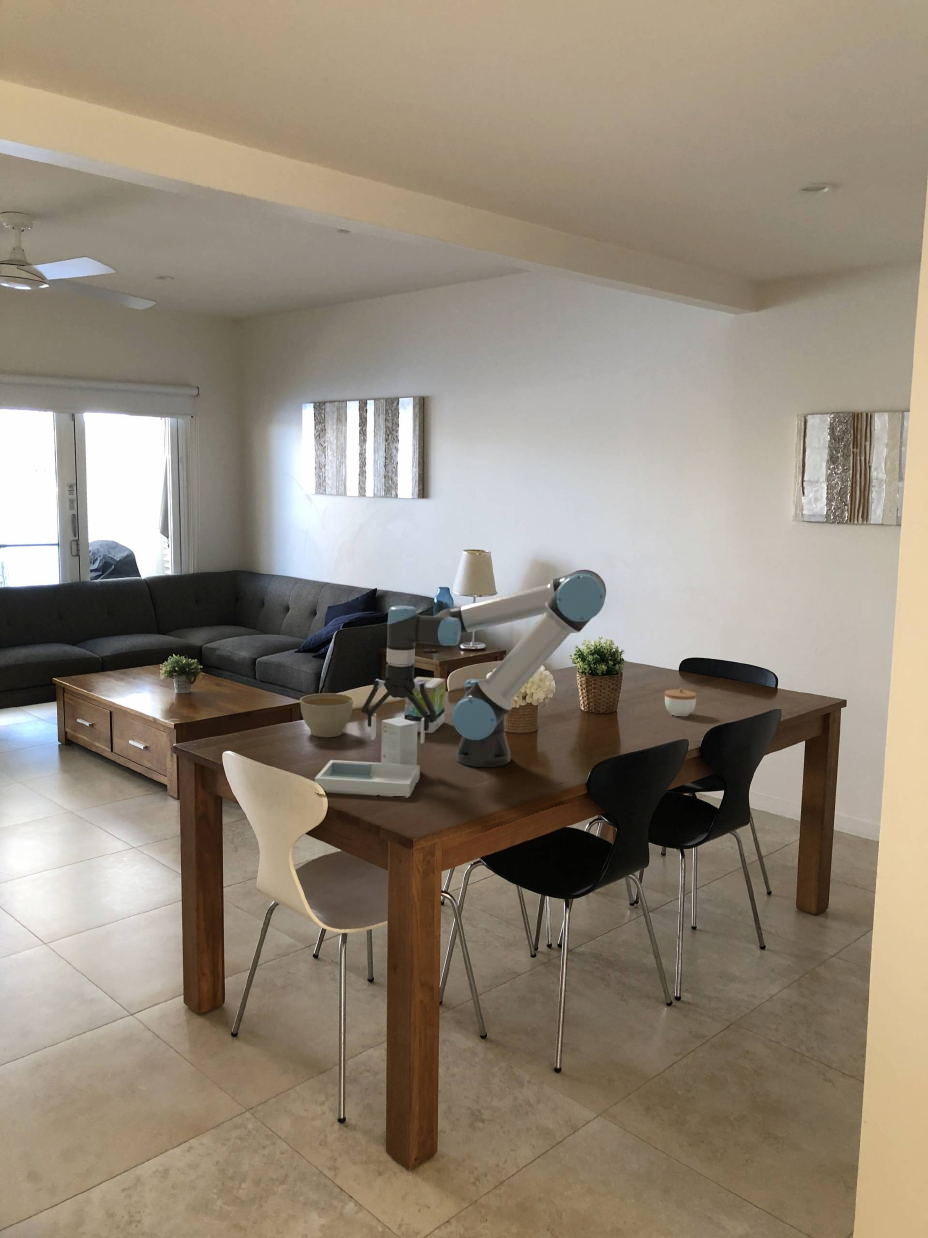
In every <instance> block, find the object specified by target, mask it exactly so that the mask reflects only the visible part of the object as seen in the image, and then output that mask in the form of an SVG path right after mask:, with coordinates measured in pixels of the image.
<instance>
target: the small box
mask: <svg viewBox="0 0 928 1238" xmlns="http://www.w3.org/2000/svg"><path fill="white" fill-rule="evenodd" d="M380 752H381V753H380V754H381V756H380V757H381V758H380V760H381V762H380V763H390V764H407V765H418V732H417V723H416V722H413V721H409V720H406V719H404V718H402V717H393V718H388V719H383V720H381V750H380Z"/></svg>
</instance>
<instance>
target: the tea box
mask: <svg viewBox="0 0 928 1238" xmlns="http://www.w3.org/2000/svg"><path fill="white" fill-rule="evenodd" d="M414 682H415V683H421V682H425V685H426V691H427V693H428V696H429V698H430V700H431V702H432V704H433V707H434V709H435V711H436V716H435V717H434V718H430V719H429V729H428V731H425V734H426V733H428V734H433V733H434V732H435V731H436V730H437V729H438V728H440V726H441V725H443V724H444V722H445V713H446V712H445V710H446V707H445V706H446V687H447V685H446V682H447V680H446V678H439V677H427V676H425V677H424V676H416V677H414ZM412 692H413V693H414V694H415V696H416V698H417V699H418V700H419V701H420V703H421V704H422V705H423V707H424V708H425V709H426V711H427V712H428V713H429V711H428V709H427V707H426V705H425V702H424V700H423V698H422V696H421V693H420V691H418V689H417V688H416V687H415V688H414V689H413V690H412ZM403 717H404V718H403V719H406V720H409V721H413V722H416V723H417V733H421V719H422V718H423V716H422V715H421V714H420V712H419V711H418V710H417V709H416V707H415V706H414V705H413V703H412V702H411V701H410V700H409V699H408V698H407V697H406V698H404V716H403Z"/></svg>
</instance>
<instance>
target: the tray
mask: <svg viewBox="0 0 928 1238" xmlns="http://www.w3.org/2000/svg"><path fill="white" fill-rule="evenodd" d="M420 768H421V766H420V765H419V764H417V765H407V764H390V763H381V762H371V761H370V762H369V761H357V760H356V761H354V760H352V761H351V760H340V759H339V760H338V759H337V760H335V759H330V761H328V762H327V763H326V765H325V766H324V767H323V768H322V770H321V771H320V772H319V773H318V774H317V775H316V776H315V777H314V783H315V782H316V783H318V784H320V785H321V786H322V787H323V788H324V789H325V791H326V792H325V793H329V794H330V793H333V794H346V795H362V796H363V795H364V796H377V795H380V796H379V797H381V796H382V797H393V796H406V797H405V798H408V797H409V796H410V797H411V796H412V795H411V794H412V793H413V791H414V789H415V788H414V787H416V786H417V784H418V782H419V780H420V773H421V771H420ZM416 783H417V784H416ZM415 785H416V786H415ZM410 797H409V798H410Z"/></svg>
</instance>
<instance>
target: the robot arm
mask: <svg viewBox="0 0 928 1238" xmlns="http://www.w3.org/2000/svg"><path fill="white" fill-rule="evenodd" d="M606 595H607V588H606V583H605V580H604V579H603V578H602V576H600V574H598V573H596V571H595V572H594V571H593V570H590V569H577V570H576V571H573V572H571V573H569V574H566V575H564V576H560V577H556V578H553V579H551V581H550V582H549V584H543V585H541V586H537V587H532V588H529V589H524V590H521V591H517V592H513V593H508V594H505V595H500V596H496V597H492V598H489V599H485V600H481V601H476V602H474V603H469V604H464V605H462V606H458V607H453V608H450V607H449V608H445V609H442V610H441V611H440V612H439V611H438V613H437V614H436V615H423V614H422V615H420V614H418V613H417V609H416V607H415V606H410V605H409V606H408V605H394V606H391V607H389V609H388V615H387V616H388V617H387V623H386V624H387V625H386V626H387V632H386V634H387V635H386V636H387V637H386V638H387V639H386V641H387V643H386V662H387V664H386V668H385V680H381V679H380V678H376V679H375V680H374V682H373V686H372V689H371V691H370V693H369V695H368V696H367V698H366V700H365V702H364V704H363V706H362V707H361V710H360V712H361V713H363V714H366V715H367V727H368V728H370V740H371V741H372V740H375V739H376V737H377V736H376V733H377V732H376V731H377V713H375V711H377V710H378V709H379V708H380V707H381V705H382V704H383V703H384V702H385V701H386V700H387V699H388V698H389V697H392V698H393V699H398V698H399V699H405V698H406V697H407V698H408V699H409V700H410V701H411V702H412V703H413V705H414V706H415V707H416V709H417V710H418V711H419V712H420V714H421V715H422V716H423V718H422V719H421V732H420V744H424V743H425V739H426V738H425V737H426V733H425V731H428V729H429V719H430V718H434V717H435V716H436V711H435V709H434V707H433V704H432V702H431V700H430V698H429V696H428V693H427V691H426V685H425V682H421V683H415V682H414V679H415V665H414V663H415V659H416V658H415V657H416V656H415V655H416V654H415V653H416V651H415V650H416V644H427V645H437V646H443V647H447V646H457V645H459V643H460V640H461V635H464V634H467V633H471V632H475V631H479V630H483V629H488V628H492V627H496V626H499V625H505V624H508V623H512V622H516V621H522V620H525V619H529V618H533V617H538V616H540V617H539V618H538V619H537V621H536V622H535V623H534V624H533V625H532V626H531V627H530V628H529V629H528V631H527V632H526V633H525V634H524V636H523V637H521V639H520V640H519V641H518V642H517V643H516V645H515V646H514V647H513V649H511V650H510V652H509V653H508V654H507V655H506V657H505V658H503V660H502V661H501V662H500V663H499V665H497V667H496V668H495V669H494V670H493V671H492V672H491V673H490V674H489V676H488V677H487V678H469V679H467V680H465V682H464V687H463V690H464V696H463V697H462V698H461V699H460V700H458V701H457V702H456V704H455V706H454V708H453V712H452V722H453V727H454V728H455V729H456V732H458V734H460V735H461V739H460V742H459V744H458V747H457V751H456V760H457V762H458V763H460V764H463V765H466V766H469V767H475V768H476V767H479V768H495V767H502V766H505V765H508V764H509V763H510V762H511V750H510V748H509V744H508V739H507V737H506V716H507V714H508V713H509V712H510V711H511V710H512V709H513V704H512V700H513V699H514V698H515V697H516V695H518V694H519V692H520V691H521V690H522V689H523V688H524V686H525V685H526V684H527V683H528V682H529V681H530V680H531V679H532V678H533V676H534V675H535V674H536V673H537V672H538V671H539V670H540V668H541V667H542V666H543V665H544V664H545V663H546V661H547V660H549V659H550V657H551V656H552V655H553V654H554V653H555V651H556V650H557V649H558V648H560V646H561V645H562V643H564V641H565V640H566V639H567V638H568V637H569V636H570V635H571V634H578V633H580V632H581V631H582V630H583V629H584V628H585V627H586V625H587V624H588V623H589V622H590V621H591V620H592V619H593V618H594V617H597V615H598V614H600V612H601V611H602V609H603V608H604V604H605V602H606ZM382 687H384V689H385V690H386V692H385V693H384V695H382V697H381V698H379V700H378V701H377V702H376V703H375V704H374V705H373V706H372V707H371V708H369V707H370V705H371V703H372V701H373V700H374V698H375V696H376V695H377V693H378V691H379V689H381V688H382ZM415 687H416V688H417V689H418V691H420V693H421V696H422V698H423V700H424V702H425V705H426V707H427V709H428V711H429V713H428V712H427V711H426V709H425V708H424V707H423V705H422V704H421V703H420V701H419V700H418V699H417V698H416V696H415V694H414V693H413V692H412V690H413V689H414V688H415Z"/></svg>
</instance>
